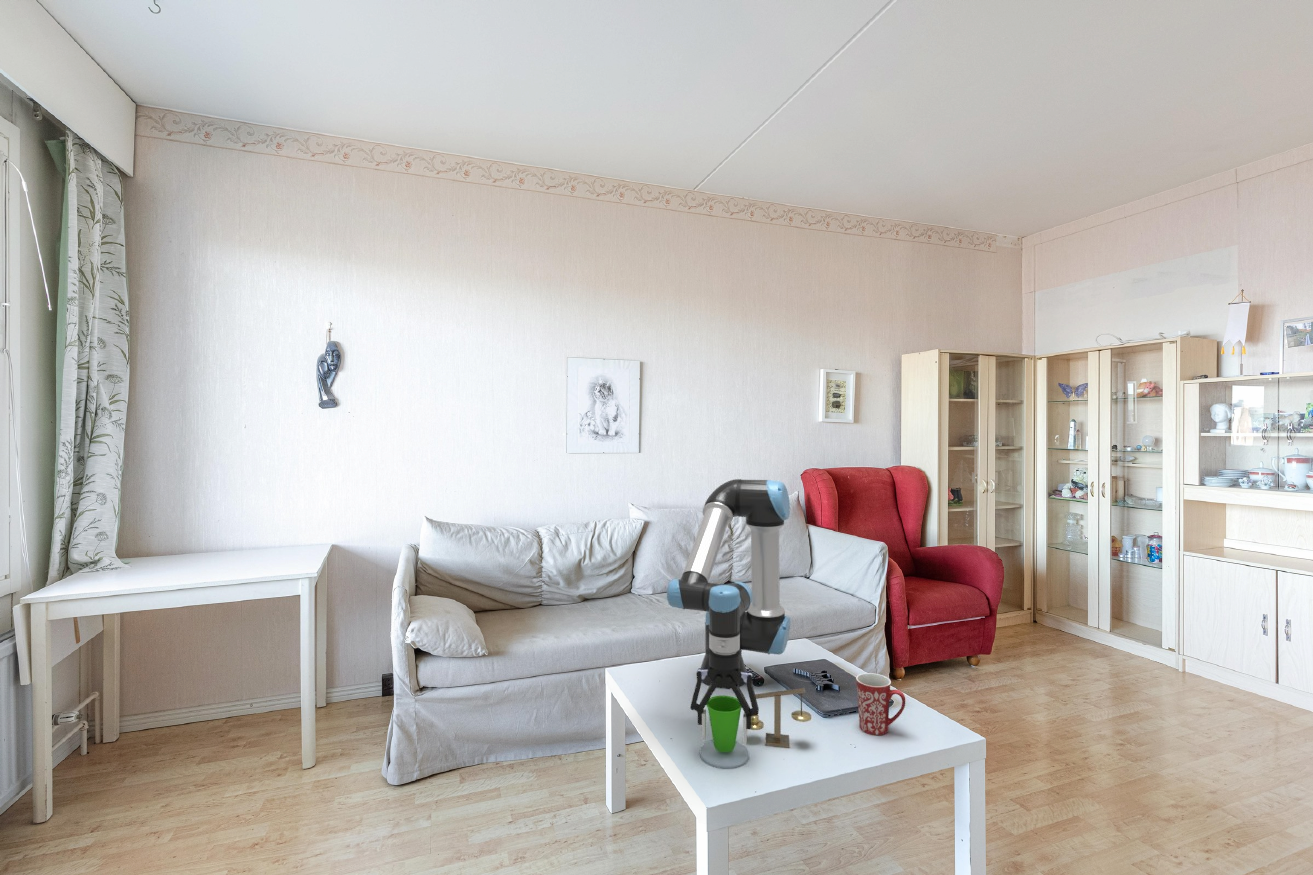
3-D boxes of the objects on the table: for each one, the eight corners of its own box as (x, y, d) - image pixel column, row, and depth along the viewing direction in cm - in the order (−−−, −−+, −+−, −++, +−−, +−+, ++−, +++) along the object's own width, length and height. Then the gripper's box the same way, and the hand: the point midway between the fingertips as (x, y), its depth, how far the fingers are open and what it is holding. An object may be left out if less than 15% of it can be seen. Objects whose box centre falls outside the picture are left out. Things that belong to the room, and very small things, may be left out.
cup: (741, 758, 149) (741, 713, 149) (703, 754, 151) (703, 709, 151) (743, 739, 158) (743, 696, 158) (708, 736, 160) (708, 693, 160)
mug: (851, 730, 167) (851, 681, 166) (861, 717, 174) (861, 669, 174) (900, 744, 160) (900, 692, 159) (908, 730, 167) (909, 680, 167)
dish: (702, 740, 162) (702, 736, 162) (749, 745, 159) (749, 741, 159) (697, 765, 150) (697, 761, 150) (747, 771, 148) (747, 766, 148)
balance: (743, 743, 160) (743, 688, 160) (744, 733, 165) (744, 680, 165) (811, 749, 157) (812, 693, 157) (810, 739, 162) (810, 685, 162)
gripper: (677, 652, 152) (678, 742, 153) (769, 658, 148) (769, 751, 149) (682, 641, 160) (682, 727, 160) (769, 647, 156) (769, 735, 156)
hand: (724, 739), depth 155 cm, fingers open, 9 cm apart
